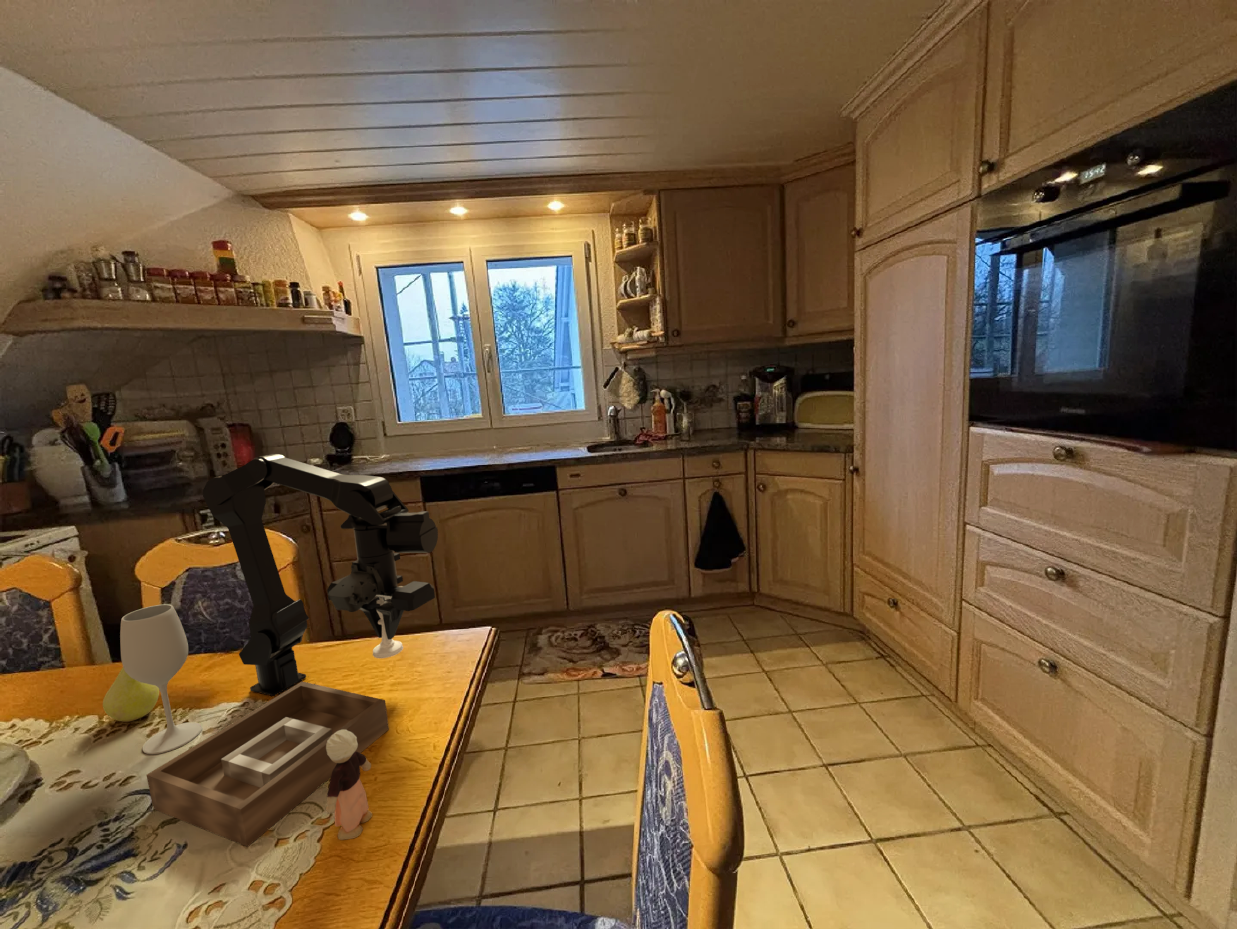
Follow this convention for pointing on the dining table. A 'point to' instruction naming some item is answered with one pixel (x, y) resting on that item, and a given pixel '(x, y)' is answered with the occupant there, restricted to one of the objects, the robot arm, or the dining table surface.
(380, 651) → the chess piece
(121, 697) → the fruit
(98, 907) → the dining table surface
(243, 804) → the walnut box
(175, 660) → the wineglass
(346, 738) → the grandmother figurine
